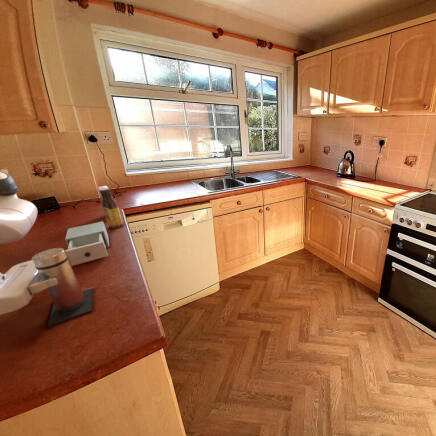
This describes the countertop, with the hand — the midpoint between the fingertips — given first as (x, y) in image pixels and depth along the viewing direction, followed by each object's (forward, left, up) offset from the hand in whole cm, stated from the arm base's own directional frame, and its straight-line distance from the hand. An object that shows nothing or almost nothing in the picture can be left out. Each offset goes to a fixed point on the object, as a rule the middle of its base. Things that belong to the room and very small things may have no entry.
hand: (61, 273), depth 66 cm
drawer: (+3, +32, -10) cm, 34 cm away
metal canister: (-1, 0, -11) cm, 11 cm away
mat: (-1, 0, -11) cm, 11 cm away
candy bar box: (+12, +83, -11) cm, 85 cm away
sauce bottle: (+13, +62, -11) cm, 64 cm away
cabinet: (+3, +44, -11) cm, 46 cm away
